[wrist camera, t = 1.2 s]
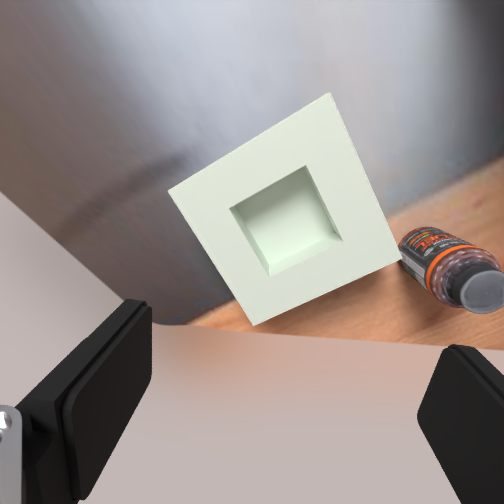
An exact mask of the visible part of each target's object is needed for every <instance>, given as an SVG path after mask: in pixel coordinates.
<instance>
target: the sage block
mask: <svg viewBox="0 0 504 504" xmlns="http://www.w3.org/2000/svg"><path fill="white" fill-rule="evenodd" d="M168 192H169V194H170V195H171V197H172V199H173V200H174V202H175V203H176V205H177V206H178V208H179V210H180V211H181V213H182V214H183V216H184V217H185V219H186V221H187V222H188V224H189V225H190V227H191V228H192V230H193V232H194V233H195V235H196V236H197V238H198V239H199V241H200V243H201V244H202V246H203V247H204V249H205V250H206V252H207V254H208V255H209V257H210V258H211V260H212V261H213V263H214V265H215V266H216V268H217V269H218V271H219V272H220V274H221V276H222V277H223V279H224V280H225V282H226V284H227V285H228V287H229V288H230V290H231V291H232V293H233V295H234V296H235V298H236V299H237V301H238V302H239V304H240V306H241V307H242V309H243V310H244V312H245V313H246V315H247V317H248V318H249V320H250V321H251V323H252V324H253V326H255V325H257V324H259V323H261V322H264V321H266V320H268V319H270V318H272V317H275V316H277V315H279V314H281V313H283V312H286V311H288V310H290V309H292V308H294V307H297V306H299V305H301V304H303V303H305V302H308V301H310V300H312V299H314V298H317V297H319V296H321V295H323V294H325V293H328V292H330V291H332V290H334V289H336V288H339V287H341V286H343V285H345V284H347V283H350V282H352V281H354V280H356V279H358V278H361V277H363V276H365V275H367V274H369V273H372V272H374V271H376V270H378V269H381V268H383V267H385V266H387V265H389V264H392V263H394V262H396V261H398V260H400V259H403V258H402V256H401V253H400V251H399V249H398V246H397V244H396V242H395V240H394V237H393V235H392V233H391V230H390V228H389V226H388V224H387V221H386V219H385V217H384V214H383V212H382V210H381V208H380V205H379V203H378V201H377V198H376V196H375V194H374V192H373V189H372V187H371V185H370V182H369V180H368V178H367V176H366V173H365V171H364V169H363V166H362V164H361V162H360V160H359V157H358V155H357V153H356V150H355V148H354V146H353V144H352V141H351V139H350V137H349V134H348V132H347V130H346V128H345V125H344V123H343V121H342V118H341V116H340V114H339V112H338V109H337V107H336V105H335V102H334V100H333V98H332V96H331V93H330V92H328V93H326V94H325V95H323V96H322V97H320V98H318V99H317V100H315V101H313V102H312V103H310V104H308V105H307V106H305V107H304V108H302V109H300V110H299V111H297V112H295V113H294V114H292V115H291V116H289V117H287V118H286V119H284V120H282V121H281V122H279V123H277V124H276V125H274V126H273V127H271V128H269V129H268V130H266V131H264V132H263V133H261V134H260V135H258V136H256V137H255V138H253V139H251V140H250V141H248V142H246V143H245V144H243V145H242V146H240V147H238V148H237V149H235V150H233V151H232V152H230V153H229V154H227V155H225V156H224V157H222V158H220V159H219V160H217V161H215V162H214V163H212V164H211V165H209V166H207V167H206V168H204V169H202V170H201V171H199V172H198V173H196V174H194V175H193V176H191V177H189V178H188V179H186V180H184V181H183V182H181V183H180V184H178V185H176V186H175V187H173V188H171V189H170V190H168Z"/></svg>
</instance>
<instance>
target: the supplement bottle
mask: <svg viewBox="0 0 504 504" xmlns="http://www.w3.org/2000/svg"><path fill="white" fill-rule="evenodd" d="M398 249H399V251H400V253H401V256H402V258H403V259H400V260H398V262H399V264H400V265H401V267H402V268H403V269H404V270H405V271H406V272H407V273H408V274H410V275H411V276H412V277H413V278H414V279H415V280H416V281H417V282H419V283H420V284H421V285H422V286H423V287H424V288H425V289H426V290H427V291H429V292H430V293H431V294H432V295H433V296H434V297H435V298H436V299H438V300H439V301H440V302H442V303H444V304H445V305H447V306H451V307H454V308H465V309H467V310H468V311H470V312H473V313H477V314H487V313H491V312H494V311H496V310H498V309H500V308H501V307H503V306H504V273H503V272H502V271H501V267H500V264H499V263H498V261H497V260H496V258H495V257H494V256H493V255H491V254H490V253H489V252H487V251H485V250H483V249H481V248H479V247H477V246H475V245H472V244H470V243H468V242H466V241H464V240H462V239H460V238H457V237H455V236H453V235H451V234H449V233H446V232H444V231H442V230H439V229H437V228H433V227H422V228H418V229H415V230H413V231H411V232H409V233H408V234H407V235H406V236H405V237H404V238H403V239H402V241H401V242H400V243H399V246H398Z"/></svg>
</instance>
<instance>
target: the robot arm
mask: <svg viewBox="0 0 504 504" xmlns="http://www.w3.org/2000/svg"><path fill="white" fill-rule="evenodd" d="M151 375H152V308H151V307H150V306H147V303H146V302H145V301H140V300H133V299H126V300H125V301H124V302H123V303H122V304H121V305H120V306H119V307H118V308H117V309H116V310H115V311H114V312H113V313H112V314H111V315H110V316H109V317H108V318H107V319H106V320H105V321H104V322H103V323H102V324H101V325H100V326H99V327H98V328H97V329H96V330H95V331H94V332H93V333H91V334H90V335H89V337H87V338H85V339H84V340H83V341H82V342H81V343H80V344H79V345H78V346H77V347H76V348H75V349H74V350H73V351H72V352H71V353H70V354H69V355H67V357H66V358H64V359H63V360H62V361H61V362H60V363H59V364H58V365H57V366H56V367H55V368H54V369H53V370H52V371H51V372H50V373H49V374H48V375H47V376H46V377H45V378H44V379H43V380H42V381H41V382H40V383H39V384H38V385H37V386H36V387H35V388H34V389H33V390H32V391H31V392H30V393H29V394H28V395H27V396H26V397H25V398H24V399H23V400H22V401H21V402H20V403H19V404H18V405H17V406H15V407H12V406H8V405H0V504H77V503H78V502H79V500H85V499H86V498H87V497H88V496H89V494H90V493H91V491H92V489H93V487H94V485H95V483H96V481H97V480H98V478H99V476H100V474H101V472H102V470H103V468H104V467H105V465H106V463H107V461H108V459H109V457H110V456H111V454H112V452H113V450H114V448H115V446H116V444H117V443H118V441H119V439H120V437H121V435H122V433H123V431H124V430H125V427H126V426H127V424H128V422H129V420H130V418H131V417H132V415H133V413H134V411H135V409H136V407H137V406H138V404H139V402H140V400H141V398H142V396H143V394H144V393H145V391H146V389H147V387H148V385H149V383H150V380H151ZM417 420H418V423H419V426H420V428H421V429H422V431H423V433H424V435H425V437H426V439H427V441H428V442H429V445H430V446H431V448H432V450H433V452H434V454H435V456H436V458H437V459H438V461H439V463H440V465H441V467H442V469H443V471H444V472H445V474H446V476H447V478H448V480H449V482H450V483H451V485H452V487H453V489H454V491H455V493H456V495H457V497H458V499H459V500H460V502H461V504H504V375H502V373H501V372H500V371H498V370H497V369H496V368H495V367H494V366H493V365H492V364H491V363H490V362H489V361H488V360H487V359H486V358H485V357H484V356H483V355H482V354H481V353H480V352H479V351H478V350H477V349H475V348H474V347H470V346H463V345H456V344H452V345H450V346H448V348H445V349H444V350H443V351H442V353H441V355H440V358H439V360H438V363H437V366H436V368H435V370H434V373H433V375H432V378H431V380H430V383H429V385H428V388H427V391H426V393H425V395H424V398H423V400H422V402H421V405H420V407H419V410H418V413H417Z"/></svg>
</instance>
